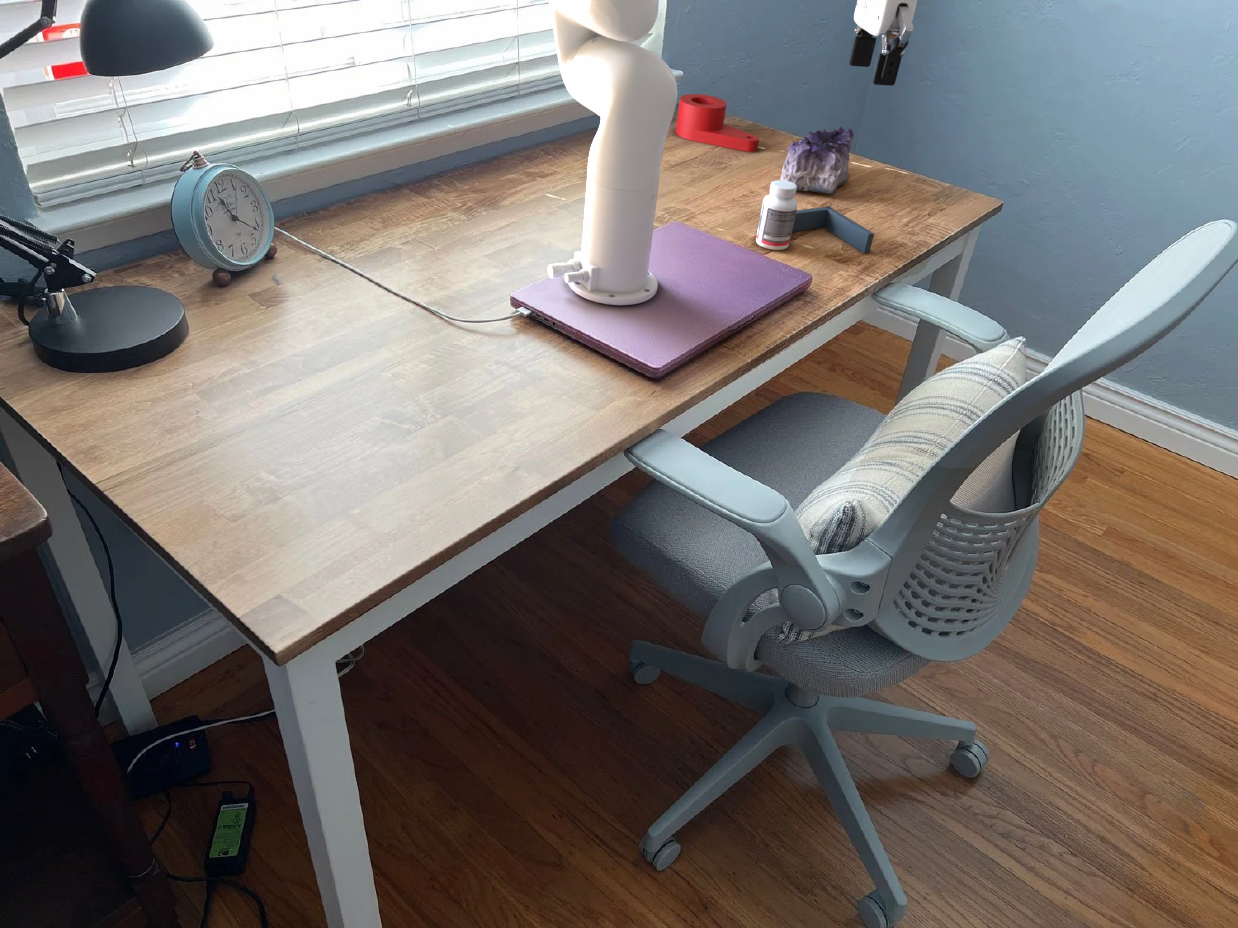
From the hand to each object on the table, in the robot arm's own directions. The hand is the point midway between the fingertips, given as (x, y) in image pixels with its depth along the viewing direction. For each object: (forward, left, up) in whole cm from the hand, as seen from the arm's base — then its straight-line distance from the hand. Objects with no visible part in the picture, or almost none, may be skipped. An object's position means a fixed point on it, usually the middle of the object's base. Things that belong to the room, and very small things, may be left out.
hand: (870, 75), depth 137 cm
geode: (+17, +26, -27) cm, 41 cm away
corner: (-1, +2, -27) cm, 27 cm away
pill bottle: (-9, +4, -27) cm, 28 cm away
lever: (+11, +51, -27) cm, 59 cm away
